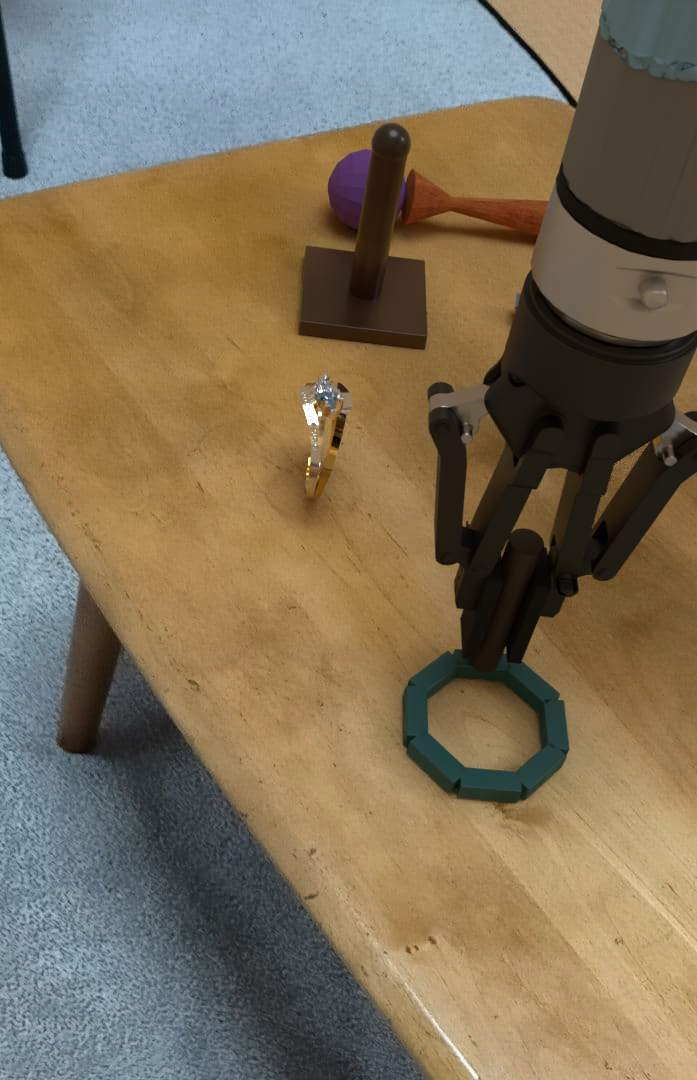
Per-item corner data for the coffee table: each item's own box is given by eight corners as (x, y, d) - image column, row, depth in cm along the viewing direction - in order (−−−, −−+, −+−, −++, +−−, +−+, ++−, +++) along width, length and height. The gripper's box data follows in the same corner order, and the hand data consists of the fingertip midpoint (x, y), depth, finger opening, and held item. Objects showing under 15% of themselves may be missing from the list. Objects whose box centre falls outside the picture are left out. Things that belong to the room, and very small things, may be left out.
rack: (422, 273, 94) (460, 99, 83) (424, 349, 88) (465, 173, 77) (304, 258, 93) (327, 81, 83) (298, 334, 87) (322, 154, 77)
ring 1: (291, 441, 80) (305, 345, 74) (340, 448, 80) (358, 353, 74) (280, 520, 75) (293, 424, 69) (332, 528, 75) (350, 433, 70)
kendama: (594, 224, 94) (337, 183, 90) (565, 277, 99) (321, 240, 95) (585, 168, 97) (336, 126, 93) (558, 222, 102) (321, 185, 98)
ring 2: (569, 808, 65) (634, 686, 56) (402, 793, 64) (444, 667, 56) (553, 666, 71) (610, 537, 62) (401, 651, 70) (438, 518, 62)
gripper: (440, 330, 47) (354, 684, 64) (814, 375, 48) (630, 711, 66) (435, 217, 52) (356, 574, 69) (774, 260, 53) (613, 600, 71)
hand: (490, 640), depth 68 cm, fingers closed on ring 2, 2 cm apart
